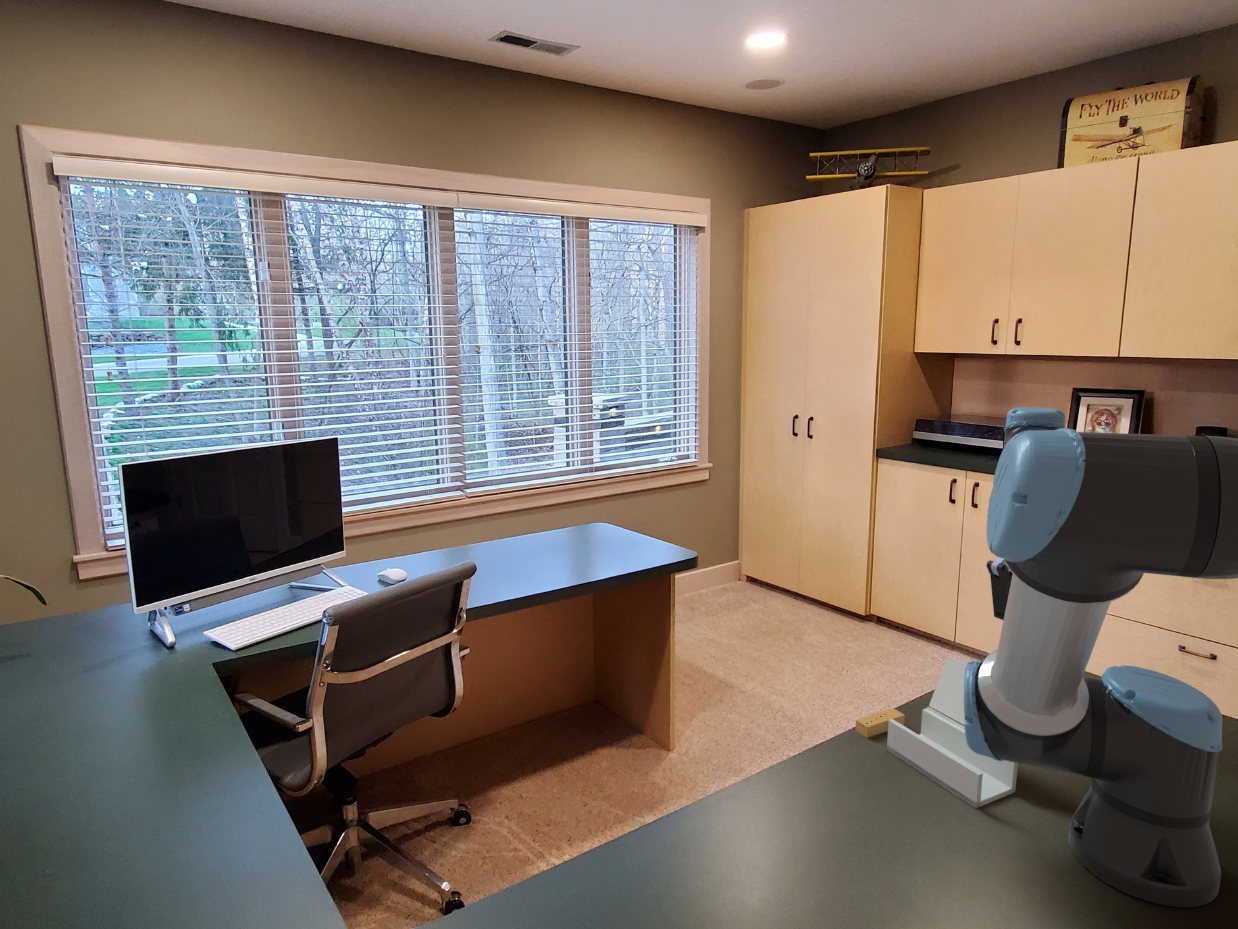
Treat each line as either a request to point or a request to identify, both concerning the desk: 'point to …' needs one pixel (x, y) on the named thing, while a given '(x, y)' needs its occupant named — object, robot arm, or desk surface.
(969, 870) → the desk surface
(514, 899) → the desk surface
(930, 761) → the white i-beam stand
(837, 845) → the desk surface
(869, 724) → the offcut
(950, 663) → the cover
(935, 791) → the desk surface
